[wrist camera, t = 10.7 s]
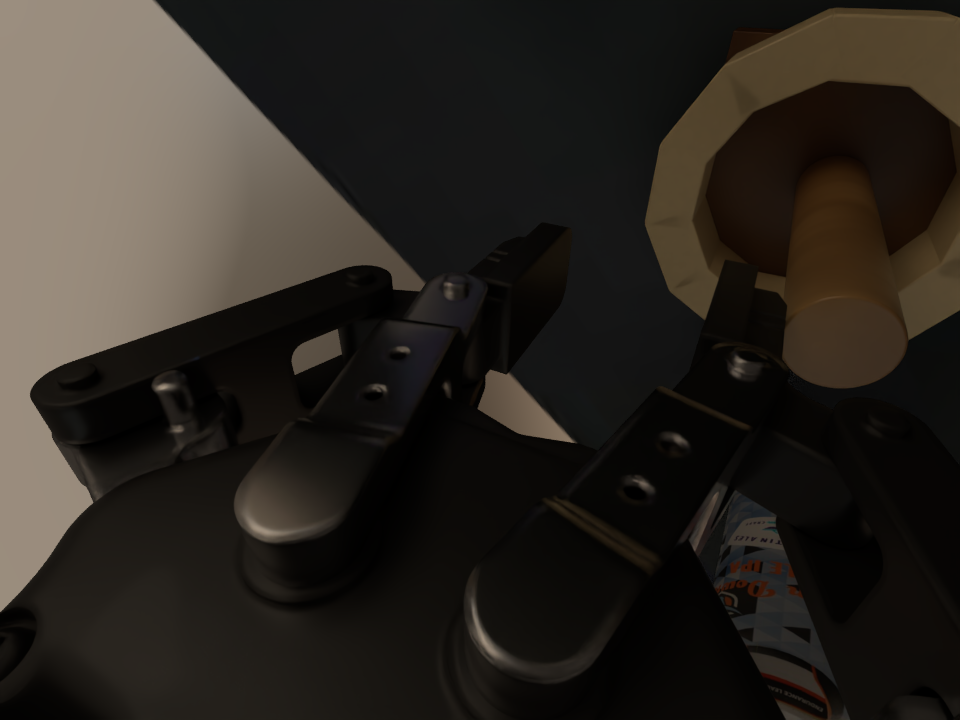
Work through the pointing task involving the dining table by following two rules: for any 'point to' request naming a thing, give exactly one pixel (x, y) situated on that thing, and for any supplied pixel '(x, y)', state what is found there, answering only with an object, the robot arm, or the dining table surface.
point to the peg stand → (833, 213)
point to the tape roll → (781, 74)
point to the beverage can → (774, 615)
